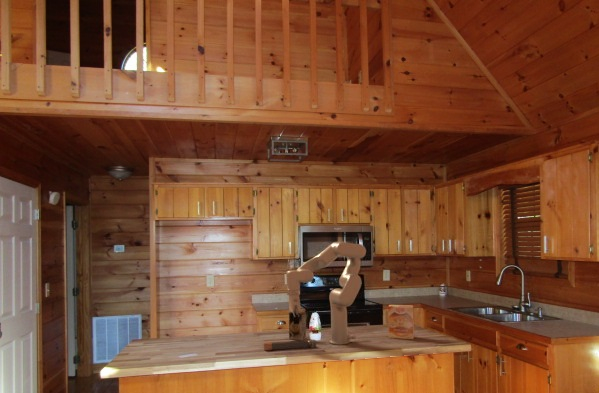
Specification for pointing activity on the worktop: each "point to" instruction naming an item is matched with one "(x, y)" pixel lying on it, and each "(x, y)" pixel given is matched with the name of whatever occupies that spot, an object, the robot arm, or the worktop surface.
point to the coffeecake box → (401, 321)
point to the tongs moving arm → (287, 345)
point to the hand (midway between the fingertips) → (294, 322)
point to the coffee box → (298, 327)
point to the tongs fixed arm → (300, 340)
